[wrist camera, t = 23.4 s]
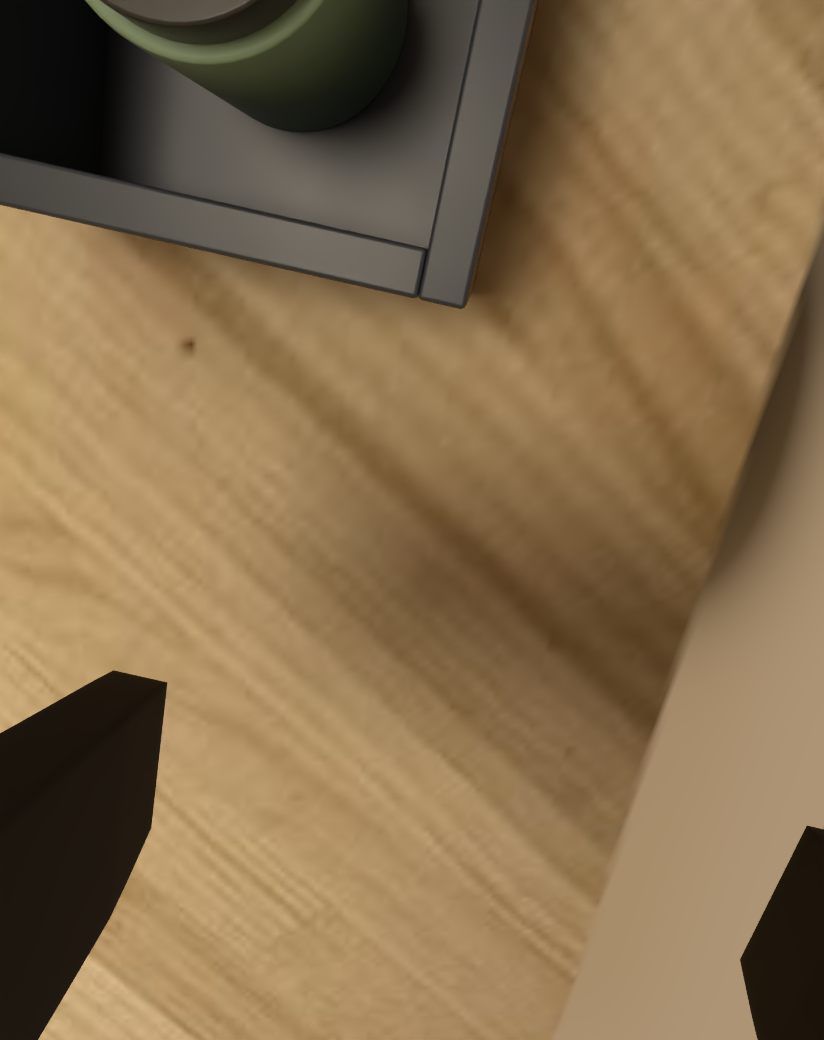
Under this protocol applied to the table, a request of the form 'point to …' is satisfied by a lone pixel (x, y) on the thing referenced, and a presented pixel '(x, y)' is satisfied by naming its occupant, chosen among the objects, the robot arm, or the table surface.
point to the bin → (269, 149)
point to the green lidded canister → (272, 51)
